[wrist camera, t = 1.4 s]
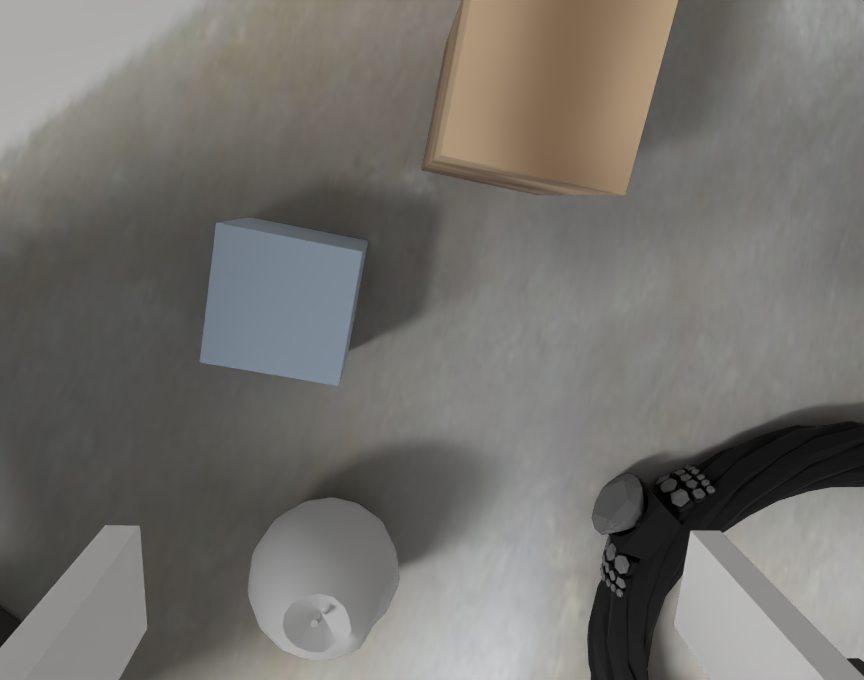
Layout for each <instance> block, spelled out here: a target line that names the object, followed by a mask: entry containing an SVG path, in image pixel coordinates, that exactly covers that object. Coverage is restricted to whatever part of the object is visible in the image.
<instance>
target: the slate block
mask: <svg viewBox="0 0 864 680" xmlns="http://www.w3.org/2000/svg"><path fill="white" fill-rule="evenodd" d="M367 245H368V241H367V240H362V239H357V238H352V237H347V236H342V235H337V234H332V233H327V232H322V231H317V230H312V229H307V228H302V227H297V226H292V225H287V224H282V223H277V222H272V221H267V220H262V219H257V218H252V217H248V218H242V219H236V220H230V221H223V222H217V223H216V228H215V237H214V245H213V253H212V262H211V270H210V279H209V287H208V295H207V304H206V312H205V321H204V329H203V338H202V346H201V354H200V362H201V363H206V364H212V365H218V366H224V367H230V368H235V369H241V370H247V371H253V372H259V373H264V374H270V375H276V376H282V377H288V378H293V379H299V380H305V381H311V382H317V383H322V384H328V385H334V386H339V383H340V380H341V376H342V373H343V369H344V366H345V362H346V359H347V355H348V351H349V346H350V340H351V335H352V329H353V323H354V318H355V312H356V307H357V301H358V295H359V290H360V284H361V279H362V273H363V267H364V262H365V256H366V251H367Z"/></svg>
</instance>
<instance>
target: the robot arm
mask: <svg viewBox="0 0 864 680" xmlns="http://www.w3.org/2000/svg"><path fill="white" fill-rule="evenodd" d="M674 627H675V629H676V630H677V632H678V633H679V635H680V636H681V638H682V639H683V641H684V642H685V644H686V645H687V647H688V648H689V650H690V651H691V653H692V654H693V656H694V657H695V659H696V660H697V662H698V663H699V665H700V666H701V668H702V669H703V671H704V672H705V674H706V675H707V677H708V679H709V680H864V662H863V661H862V660H860V659H859V658H850V659H846V658H845V657H844V656H843V655H842V654H841V653H840V652H839V651H838V650H837V649H836V648H835V647H834V646H833V645H832V644H831V643H830V642H829V641H828V640H827V639H826V638H825V637H824V636H823V635H822V634H821V633H820V632H819V631H818V630H817V629H816V628H815V627H814V626H813V625H812V623H811V622H810V621H809V620H808V619H807V618H806V617H805V616H804V615H803V614H802V613H801V612H800V611H799V610H798V609H797V608H796V607H795V606H794V605H793V604H792V603H791V602H790V601H789V600H788V599H787V598H786V597H785V596H784V595H783V594H782V593H781V592H780V591H779V590H778V589H777V588H776V587H775V586H774V585H773V584H772V583H771V582H770V581H769V580H768V579H767V578H766V577H765V576H764V575H763V574H762V573H761V572H760V571H759V570H758V569H757V568H756V567H755V566H754V565H753V564H752V563H751V562H750V560H749V559H748V558H747V557H746V556H745V555H744V554H743V553H742V552H741V551H740V550H739V549H738V548H737V547H736V546H735V545H734V544H733V543H732V542H731V541H730V540H729V539H728V538H727V537H726V536H725V535H724V534H723V533H722V532H721V531H693V530H691V531H690V537H689V542H688V548H687V554H686V559H685V565H684V571H683V576H682V582H681V587H680V593H679V599H678V604H677V610H676V616H675V621H674ZM146 630H147V616H146V602H145V588H144V574H143V560H142V546H141V532H140V526H131V525H105V526H104V527H103V528H102V530H101V531H100V532H99V533H98V534H97V535H96V537H95V538H94V539H93V540H92V541H91V542H90V544H89V545H88V546H87V547H86V548H85V549H84V551H83V552H82V553H81V554H80V555H79V556H78V558H77V559H76V560H75V561H74V562H73V563H72V565H71V566H70V567H69V568H68V569H67V570H66V572H65V573H64V574H63V575H62V576H61V577H60V579H59V580H58V581H57V582H56V583H55V585H54V586H53V587H52V588H51V589H50V590H49V592H48V593H47V594H46V595H45V596H44V597H43V599H42V600H41V601H40V602H39V603H38V604H37V606H36V607H35V608H34V609H33V610H32V611H31V613H30V614H29V615H28V616H27V617H26V618H25V620H24V621H23V622H22V623H21V624H19V623H18V622H17V621H16V620H15V619H13V618H12V617H11V616H10V615H8V614H7V613H6V612H4V611H3V610H1V609H0V680H119V679H120V677H121V675H122V673H123V671H124V670H125V668H126V666H127V664H128V662H129V661H130V659H131V657H132V655H133V653H134V652H135V650H136V648H137V646H138V644H139V643H140V641H141V639H142V637H143V635H144V634H145V632H146Z"/></svg>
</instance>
